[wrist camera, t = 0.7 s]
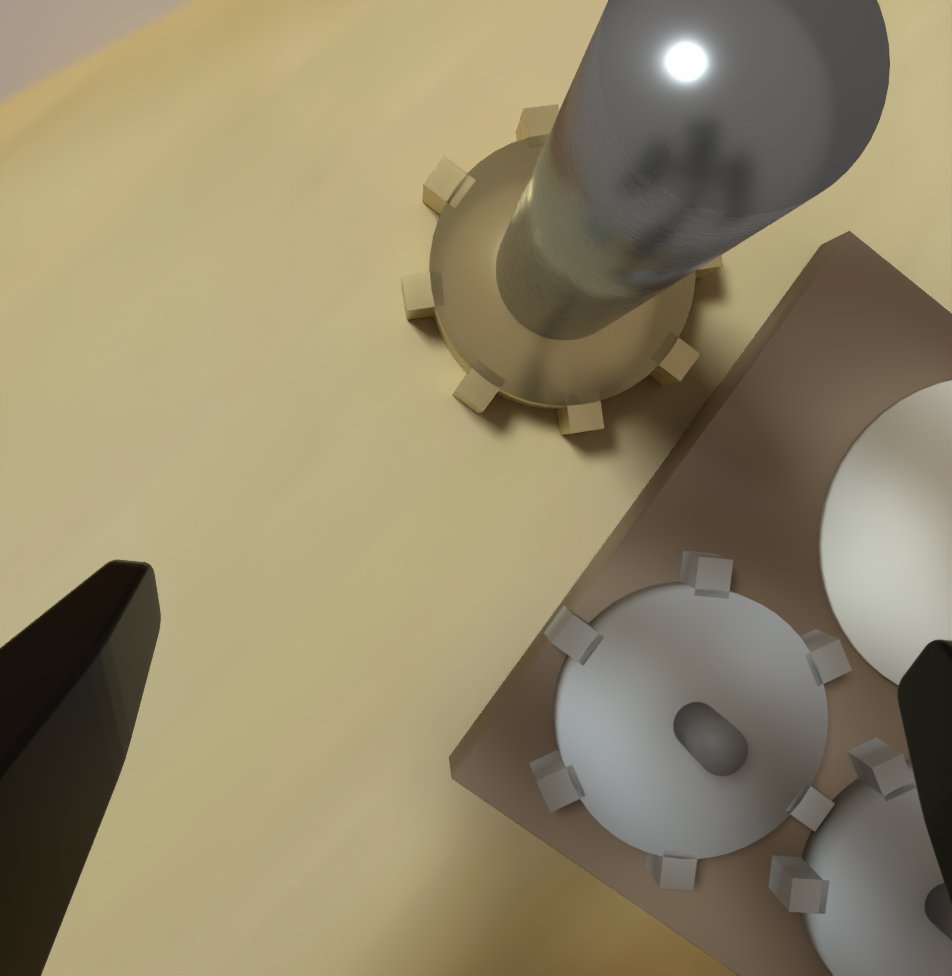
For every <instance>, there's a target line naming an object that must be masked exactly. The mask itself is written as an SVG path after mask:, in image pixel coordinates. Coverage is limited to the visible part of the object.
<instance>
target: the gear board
mask: <svg viewBox="0 0 952 976" xmlns="http://www.w3.org/2000/svg"><path fill="white" fill-rule="evenodd" d="M938 639H941V640H951V641H952V314H951V313H950V312H949V311H948V310H947V309H945V308H944V307H943V306H942V305H940V304H939V303H938V302H937V301H935V300H934V299H933V298H932V297H930V296H929V295H928V294H927V293H926V292H924V291H923V290H922V289H921V288H919V287H918V286H917V285H916V284H914V283H913V282H912V281H911V280H909V279H908V278H907V277H906V276H905V275H903V274H902V273H901V272H900V271H898V270H897V269H896V268H895V267H893V266H892V265H891V264H890V263H888V262H887V261H886V260H885V259H884V258H882V257H881V256H880V255H879V254H877V253H876V252H875V251H874V250H872V249H871V248H870V247H869V246H867V245H866V244H865V243H864V242H863V241H861V240H860V239H859V238H858V237H856V236H855V235H854V234H853V233H851V232H850V231H848V232H846V233H844V234H842V235H840V236H838V237H836V238H834V239H832V240H830V241H828V242H826V243H824V244H822V245H821V246H820V247H819V249H818V250H817V251H816V253H815V254H814V256H813V257H812V258H811V260H810V261H809V262H808V264H807V265H806V267H805V268H804V269H803V271H802V272H801V273H800V275H799V276H798V278H797V279H796V280H795V282H794V283H793V284H792V286H791V287H790V289H789V290H788V291H787V293H786V294H785V295H784V297H783V298H782V300H781V301H780V302H779V304H778V305H777V306H776V308H775V309H774V311H773V312H772V313H771V315H770V316H769V317H768V319H767V320H766V322H765V323H764V324H763V326H762V327H761V328H760V330H759V331H758V333H757V334H756V335H755V337H754V338H753V340H752V341H751V342H750V344H749V345H748V346H747V348H746V349H745V351H744V352H743V353H742V355H741V356H740V357H739V359H738V360H737V362H736V363H735V364H734V366H733V367H732V368H731V370H730V371H729V373H728V374H727V375H726V377H725V378H724V379H723V381H722V382H721V384H720V385H719V386H718V388H717V389H716V390H715V392H714V393H713V395H712V396H711V397H710V399H709V400H708V401H707V403H706V404H705V406H704V407H703V408H702V410H701V411H700V412H699V414H698V415H697V417H696V418H695V419H694V421H693V422H692V423H691V425H690V426H689V428H688V429H687V430H686V432H685V433H684V434H683V436H682V437H681V439H680V440H679V441H678V443H677V444H676V445H675V447H674V448H673V450H672V451H671V452H670V454H669V455H668V457H667V458H666V459H665V461H664V462H663V463H662V465H661V466H660V468H659V469H658V470H657V472H656V473H655V474H654V476H653V477H652V479H651V480H650V481H649V483H648V484H647V485H646V487H645V488H644V490H643V491H642V492H641V494H640V495H639V496H638V498H637V499H636V501H635V502H634V503H633V505H632V506H631V507H630V509H629V510H628V512H627V513H626V514H625V516H624V517H623V518H622V520H621V521H620V523H619V524H618V525H617V527H616V528H615V529H614V531H613V532H612V534H611V535H610V536H609V538H608V539H607V540H606V542H605V543H604V545H603V546H602V547H601V549H600V550H599V551H598V553H597V554H596V556H595V557H594V558H593V560H592V561H591V563H590V564H589V565H588V567H587V568H586V569H585V571H584V572H583V574H582V575H581V576H580V578H579V579H578V580H577V582H576V583H575V585H574V586H573V587H572V589H571V590H570V591H569V593H568V594H567V596H566V597H565V598H564V600H563V601H562V602H561V604H560V605H559V607H558V608H557V609H556V611H555V612H554V613H553V615H552V616H551V618H550V619H549V620H548V622H547V623H546V624H545V626H544V627H543V629H542V630H541V631H540V633H539V634H538V635H537V637H536V638H535V640H534V641H533V642H532V644H531V645H530V646H529V648H528V649H527V651H526V652H525V653H524V655H523V656H522V657H521V659H520V660H519V662H518V663H517V664H516V666H515V667H514V668H513V670H512V671H511V673H510V674H509V675H508V677H507V678H506V680H505V681H504V682H503V684H502V685H501V686H500V688H499V689H498V691H497V692H496V693H495V695H494V696H493V697H492V699H491V700H490V702H489V703H488V704H487V706H486V707H485V708H484V710H483V711H482V713H481V714H480V715H479V717H478V718H477V719H476V721H475V722H474V724H473V725H472V726H471V728H470V729H469V730H468V732H467V733H466V735H465V736H464V737H463V739H462V740H461V741H460V743H459V744H458V746H457V747H456V748H455V750H454V751H453V752H452V754H451V755H450V757H449V761H450V768H451V776H452V779H453V780H455V781H456V782H458V783H459V784H461V785H462V786H463V787H465V788H466V789H468V790H469V791H471V792H472V793H474V794H475V795H477V796H478V797H480V798H481V799H482V800H484V801H485V802H487V803H488V804H490V805H491V806H493V807H494V808H496V809H497V810H498V811H500V812H501V813H503V814H504V815H506V816H507V817H509V818H510V819H512V820H513V821H514V822H516V823H517V824H519V825H520V826H522V827H523V828H525V829H526V830H528V831H529V832H530V833H532V834H533V835H535V836H536V837H538V838H539V839H541V840H542V841H544V842H545V843H546V844H548V845H549V846H551V847H552V848H554V849H555V850H557V851H558V852H560V853H561V854H562V855H564V856H565V857H567V858H568V859H570V860H571V861H573V862H574V863H576V864H577V865H578V866H580V867H581V868H583V869H584V870H586V871H587V872H589V873H590V874H592V875H593V876H595V877H596V878H597V879H599V880H600V881H602V882H603V883H605V884H606V885H608V886H609V887H611V888H612V889H613V890H615V891H616V892H618V893H619V894H621V895H622V896H624V897H625V898H627V899H628V900H629V901H631V902H632V903H634V904H635V905H637V906H638V907H640V908H641V909H643V910H644V911H645V912H647V913H648V914H650V915H651V916H653V917H654V918H656V919H657V920H659V921H660V922H661V923H663V924H664V925H666V926H667V927H669V928H670V929H672V930H673V931H675V932H676V933H677V934H679V935H680V936H682V937H683V938H685V939H686V940H688V941H689V942H691V943H692V944H693V945H695V946H696V947H698V948H699V949H701V950H702V951H704V952H705V953H707V954H708V955H710V956H711V957H712V958H714V959H715V960H717V961H718V962H720V963H721V964H723V965H724V966H726V967H727V968H728V969H730V970H731V971H733V972H734V973H736V974H737V975H739V976H952V905H951V902H950V899H949V896H948V893H947V890H946V887H945V884H944V881H943V878H942V875H941V872H940V869H939V866H938V862H937V859H936V856H935V853H934V850H933V847H932V844H931V841H930V838H929V835H928V831H927V828H926V825H925V821H924V817H923V813H922V809H921V805H920V801H919V797H918V792H917V788H916V783H915V778H914V774H913V769H912V765H911V760H910V755H909V751H908V746H907V742H906V737H905V733H904V728H903V723H902V719H901V714H900V710H899V705H898V699H897V691H898V685H899V683H900V680H901V679H902V677H903V676H904V674H905V673H906V672H907V670H908V669H909V668H910V666H911V665H912V664H913V662H914V661H915V660H916V658H917V657H918V656H919V654H920V653H921V652H922V650H923V649H924V648H925V646H926V645H927V644H928V643H930V642H932V641H934V640H938Z"/></svg>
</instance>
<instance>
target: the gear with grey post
mask: <svg viewBox="0 0 952 976" xmlns="http://www.w3.org/2000/svg"><path fill="white" fill-rule="evenodd" d="M889 69H890V59H889V43H888V38H887V32H886V27H885V23H884V19H883V16H882V13H881V10H880V7H879V4H878V2H877V0H608V3H607V5H606V7H605V9H604V12H603V14H602V16H601V18H600V21H599V23H598V25H597V27H596V30H595V32H594V34H593V36H592V39H591V41H590V43H589V45H588V48H587V50H586V52H585V54H584V57H583V59H582V61H581V63H580V66H579V68H578V70H577V72H576V75H575V77H574V79H573V81H572V84H571V86H570V88H569V90H568V93H567V95H566V97H565V99H564V102H563V104H562V106H561V108H560V111H559V109H558V105H550V106H542V107H534V108H526V109H523V112H522V115H521V118H520V121H519V124H518V127H517V130H516V135H517V142H514V143H511V144H509V145H507V146H505V147H503V148H501V149H499V150H497V151H495V152H494V153H492V154H491V155H489V156H488V157H486V158H485V159H483V160H482V161H480V162H479V163H478V164H477V165H476V166H475V167H474V168H473V169H472V170H471V171H469V172H468V173H466V172H465V171H463V170H462V169H461V168H459V167H458V166H457V165H456V164H454V163H453V162H452V161H450V160H449V159H448V158H447V157H445V156H444V157H443V158H442V159H441V161H440V162H439V164H438V165H437V166H436V168H435V169H434V170H433V172H432V173H431V174H430V176H429V177H428V179H427V180H426V181H425V183H424V184H423V203H425V204H426V205H427V206H429V207H430V208H431V209H432V210H434V211H435V212H436V213H438V214H439V215H440V217H439V220H438V223H437V226H436V229H435V232H434V236H433V241H432V247H431V253H430V262H429V272H423V273H416V274H409V275H402V276H401V279H402V291H403V298H404V304H405V310H406V317H407V320H410V319H417V318H424V317H431V316H434V319H435V322H436V325H437V327H438V330H439V333H440V335H441V337H442V339H443V340H444V342H445V344H446V346H447V348H448V349H449V351H450V352H451V354H452V355H453V357H454V358H455V360H456V361H457V362H458V363H459V364H460V365H461V366H462V368H463V369H464V370H465V371H466V372H467V373H468V374H467V375H466V377H465V378H464V379H463V381H462V382H461V383H460V385H459V386H458V388H457V389H456V390H455V392H454V393H453V394H452V395H453V396H455V397H456V398H458V399H459V400H460V401H462V402H463V403H464V404H466V405H467V406H468V407H470V408H471V409H472V410H474V411H475V412H476V413H478V414H479V413H481V412H483V411H484V410H485V408H486V407H487V406H488V404H489V403H490V402H491V400H492V399H493V397H494V396H495V395H496V394H497V395H499V396H501V397H504V398H506V399H508V400H510V401H513V402H517V403H520V404H523V405H527V406H532V407H538V408H552V409H557V414H558V420H559V427H560V434H561V435H562V434H572V433H578V432H585V431H591V430H598V429H604V421H603V414H602V408H601V400H604V399H607V398H610V397H612V396H615V395H617V394H619V393H621V392H623V391H625V390H627V389H629V388H631V387H633V386H634V385H635V384H637V383H638V382H640V381H641V380H642V379H644V378H645V377H647V376H648V375H649V376H651V377H652V378H653V379H655V380H656V381H657V382H659V383H660V384H661V385H662V386H665V385H669V384H673V383H677V382H681V380H682V379H683V378H684V376H685V375H686V373H687V372H688V371H689V369H690V368H691V367H692V365H693V364H694V362H695V361H696V360H697V358H698V357H699V356H700V353H698V352H697V351H696V350H695V349H693V348H692V347H691V346H689V345H688V344H687V343H685V342H684V341H683V340H682V339H680V338H679V337H680V334H681V332H682V330H683V328H684V326H685V324H686V321H687V318H688V315H689V312H690V309H691V306H692V301H693V295H694V290H695V279H698V278H703V277H705V276H707V275H708V274H710V273H712V272H713V271H715V270H717V269H719V268H720V267H722V266H723V264H722V257H721V255H722V254H723V253H725V252H727V251H728V250H730V249H731V248H733V247H735V246H736V245H738V244H739V243H741V242H743V241H744V240H746V239H747V238H749V237H751V236H752V235H754V234H755V233H757V232H759V231H760V230H762V229H763V228H765V227H767V226H768V225H770V224H771V223H773V222H775V221H776V220H778V219H779V218H781V217H783V216H784V215H786V214H788V213H789V212H791V211H792V210H794V209H796V208H797V207H799V206H800V205H802V204H804V203H805V202H807V201H808V200H810V199H812V198H813V197H815V196H816V195H818V194H819V193H821V192H822V191H824V190H825V189H827V188H828V187H829V186H831V185H832V184H834V183H835V182H836V181H837V180H838V179H839V178H840V177H841V176H842V175H844V174H845V173H846V172H847V171H848V170H849V169H850V167H851V166H852V165H853V164H854V163H855V161H856V160H857V159H858V158H859V157H860V155H861V154H862V152H863V151H864V149H865V147H866V146H867V144H868V143H869V141H870V140H871V138H872V135H873V133H874V131H875V129H876V127H877V125H878V123H879V120H880V117H881V114H882V110H883V107H884V104H885V100H886V94H887V89H888V84H889Z"/></svg>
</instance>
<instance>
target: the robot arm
mask: <svg viewBox="0 0 952 976" xmlns="http://www.w3.org/2000/svg"><path fill="white" fill-rule="evenodd" d="M160 621H161V613H160V606H159V599H158V593H157V587H156V580H155V574H154V570H153V568H152V566H151V565H150V564H148V563H146V562H137V561H127V560H113V561H110V562H108V563H107V564H105V565H104V566H103V567H101V568H100V569H99V570H98V571H96V572H95V573H94V574H93V575H91V576H90V577H89V578H88V579H86V580H85V581H84V582H83V583H81V584H80V585H79V586H77V587H76V588H75V589H74V590H72V591H71V592H70V593H69V594H67V595H66V596H65V597H64V598H62V599H61V600H60V601H59V602H57V603H56V604H55V605H54V606H52V607H51V608H50V609H49V610H47V611H46V612H45V613H44V614H42V615H41V616H40V617H39V618H37V619H36V620H35V621H34V622H32V623H31V624H30V625H29V626H27V627H26V628H25V629H24V630H22V631H21V632H20V633H19V634H17V635H16V636H15V637H14V638H12V639H11V640H10V641H9V642H7V643H6V644H5V645H4V646H2V647H1V648H0V976H41V974H42V971H43V969H44V966H45V964H46V961H47V959H48V956H49V954H50V951H51V949H52V946H53V944H54V941H55V938H56V936H57V933H58V931H59V928H60V926H61V923H62V921H63V918H64V916H65V913H66V911H67V908H68V905H69V903H70V900H71V898H72V895H73V893H74V890H75V888H76V885H77V883H78V880H79V877H80V875H81V872H82V870H83V867H84V865H85V862H86V860H87V857H88V855H89V852H90V850H91V847H92V844H93V842H94V839H95V837H96V834H97V832H98V829H99V827H100V824H101V822H102V819H103V816H104V814H105V811H106V809H107V806H108V804H109V801H110V799H111V796H112V794H113V791H114V789H115V786H116V783H117V781H118V778H119V775H120V773H121V770H122V767H123V764H124V761H125V758H126V755H127V751H128V748H129V744H130V741H131V737H132V733H133V730H134V726H135V722H136V718H137V714H138V711H139V707H140V703H141V699H142V695H143V691H144V688H145V684H146V680H147V676H148V672H149V669H150V665H151V661H152V657H153V653H154V650H155V646H156V642H157V638H158V634H159V629H160ZM897 699H898V705H899V710H900V714H901V719H902V723H903V728H904V733H905V737H906V742H907V746H908V751H909V755H910V760H911V765H912V769H913V774H914V778H915V783H916V788H917V792H918V797H919V801H920V805H921V809H922V813H923V817H924V821H925V825H926V828H927V831H928V835H929V838H930V841H931V844H932V847H933V850H934V853H935V856H936V859H937V862H938V866H939V869H940V872H941V875H942V878H943V881H944V884H945V887H946V890H947V893H948V896H949V899H950V902H951V905H952V641H951V640H941V639H938V640H934V641H932V642H930V643H928V644H927V645H926V646H925V648H924V649H923V650H922V652H921V653H920V654H919V656H918V657H917V658H916V660H915V661H914V662H913V664H912V665H911V666H910V668H909V669H908V670H907V672H906V673H905V674H904V676H903V677H902V679H901V680H900V683H899V685H898V691H897Z"/></svg>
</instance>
